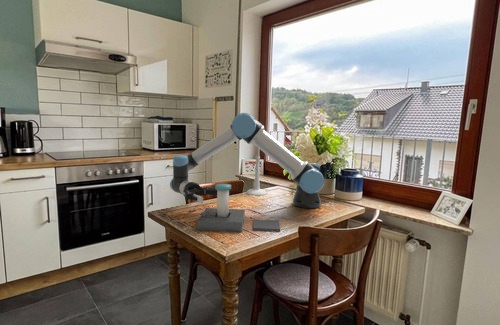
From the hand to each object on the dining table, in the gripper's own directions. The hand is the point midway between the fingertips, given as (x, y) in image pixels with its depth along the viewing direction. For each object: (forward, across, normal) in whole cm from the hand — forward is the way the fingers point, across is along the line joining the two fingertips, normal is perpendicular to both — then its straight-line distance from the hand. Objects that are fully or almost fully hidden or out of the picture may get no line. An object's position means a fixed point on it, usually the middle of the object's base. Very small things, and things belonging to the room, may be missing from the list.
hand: (215, 198), depth 131 cm
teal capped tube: (+5, 0, -10) cm, 11 cm away
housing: (+5, 0, -10) cm, 11 cm away
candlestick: (-27, -50, -11) cm, 58 cm away
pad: (+19, -13, -10) cm, 25 cm away
